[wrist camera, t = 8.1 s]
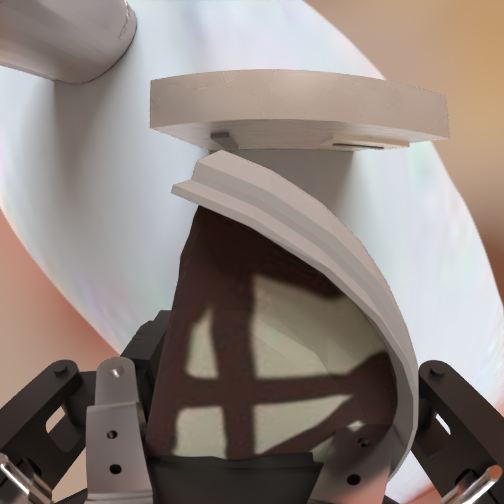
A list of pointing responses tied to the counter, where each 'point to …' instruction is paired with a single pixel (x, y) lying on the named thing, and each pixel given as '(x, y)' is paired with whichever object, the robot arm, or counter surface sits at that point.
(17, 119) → the counter surface
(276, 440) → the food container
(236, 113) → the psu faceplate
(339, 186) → the counter surface
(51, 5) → the robot arm
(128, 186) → the counter surface
